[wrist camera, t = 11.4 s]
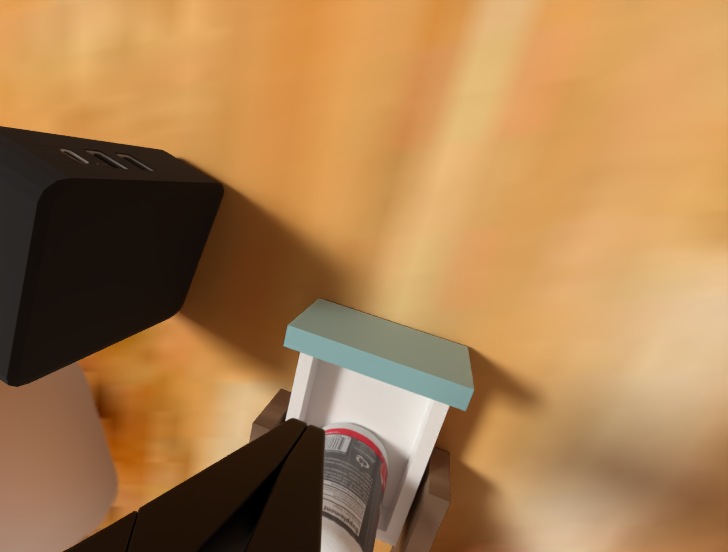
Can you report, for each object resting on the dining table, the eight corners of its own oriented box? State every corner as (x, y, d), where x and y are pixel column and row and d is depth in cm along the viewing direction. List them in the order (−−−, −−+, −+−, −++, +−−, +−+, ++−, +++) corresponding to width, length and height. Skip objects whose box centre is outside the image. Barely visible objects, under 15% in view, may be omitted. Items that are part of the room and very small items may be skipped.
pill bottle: (374, 502, 22) (326, 720, 13) (302, 467, 23) (207, 651, 14) (402, 441, 21) (368, 640, 12) (323, 405, 22) (232, 567, 12)
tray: (404, 513, 23) (395, 584, 19) (282, 462, 24) (249, 518, 20) (467, 346, 19) (474, 389, 15) (319, 298, 21) (287, 324, 16)
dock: (389, 600, 26) (380, 663, 22) (250, 536, 27) (222, 586, 24) (449, 452, 21) (450, 502, 18) (280, 388, 23) (252, 422, 20)
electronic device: (228, 184, 20) (44, 178, 11) (180, 314, 24) (5, 396, 14) (172, 150, 21) (-54, 117, 11) (132, 283, 24) (-70, 343, 15)
